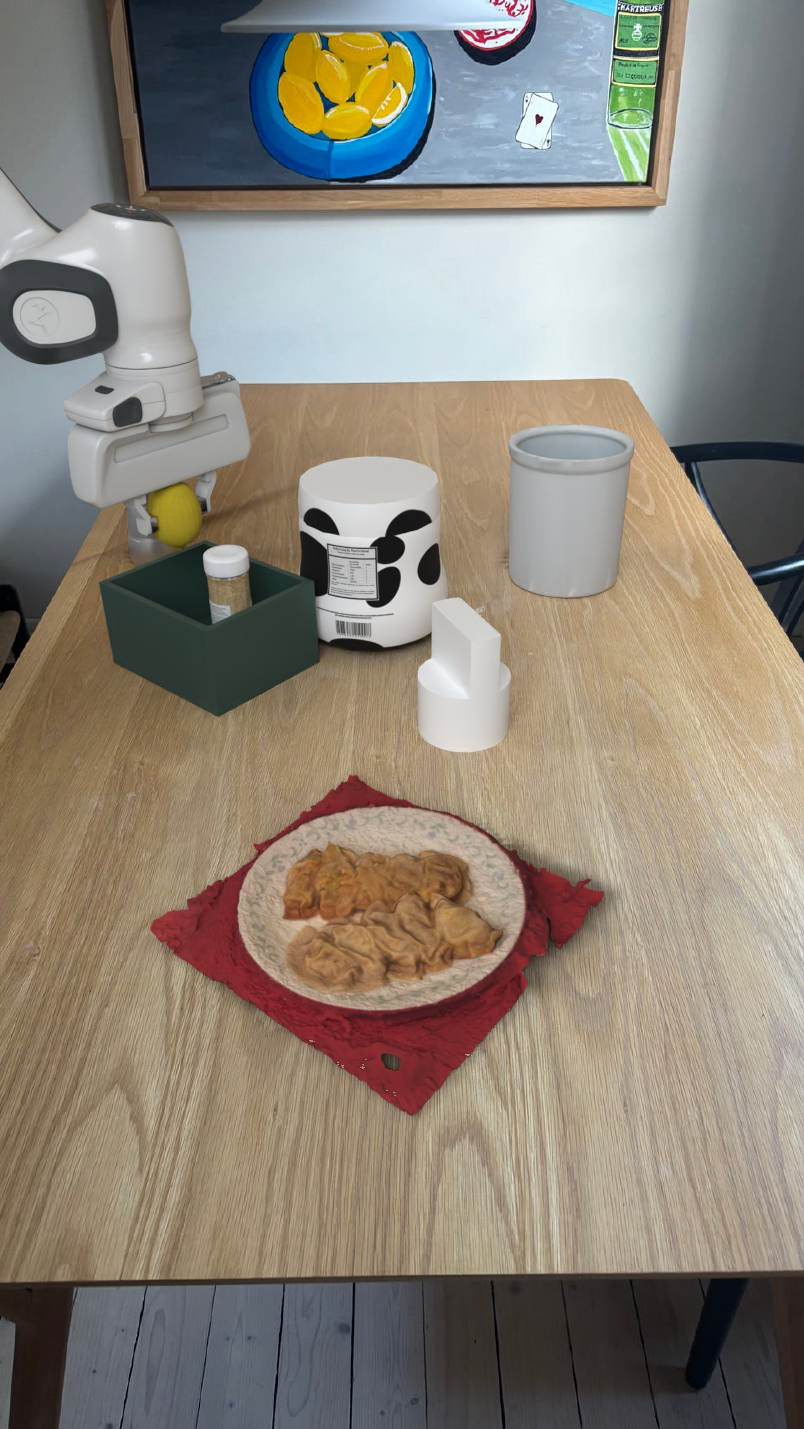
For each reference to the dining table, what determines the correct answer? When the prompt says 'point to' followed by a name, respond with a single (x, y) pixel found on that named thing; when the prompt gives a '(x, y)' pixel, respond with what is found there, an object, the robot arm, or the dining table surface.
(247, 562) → the sprinkles bottle
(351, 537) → the milk container
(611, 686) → the dining table surface
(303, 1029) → the plate with food
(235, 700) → the bin
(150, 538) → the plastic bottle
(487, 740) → the cylinder with rectangular tab
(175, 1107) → the dining table surface
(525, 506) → the utensil holder
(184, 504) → the lemon
